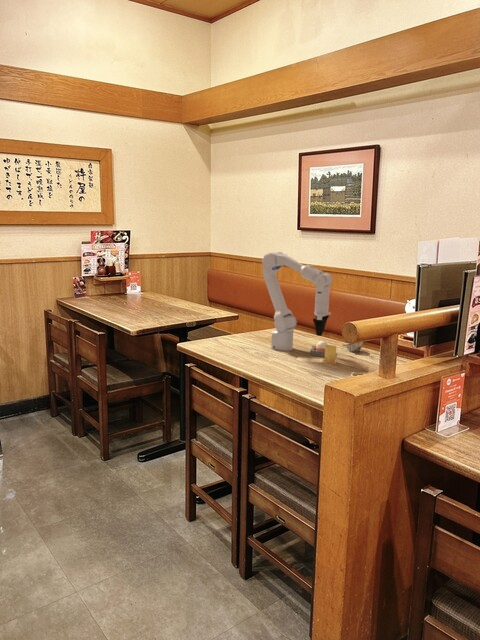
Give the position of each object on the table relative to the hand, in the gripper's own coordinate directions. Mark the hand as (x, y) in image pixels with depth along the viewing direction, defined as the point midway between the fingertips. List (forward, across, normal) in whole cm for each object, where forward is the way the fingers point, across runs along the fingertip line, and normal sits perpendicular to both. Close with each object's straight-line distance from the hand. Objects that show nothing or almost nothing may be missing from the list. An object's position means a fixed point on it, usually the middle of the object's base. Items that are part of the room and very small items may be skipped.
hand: (320, 333), depth 213 cm
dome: (+9, +2, -1) cm, 9 cm away
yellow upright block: (+9, -9, -5) cm, 14 cm away
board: (+10, -3, 0) cm, 11 cm away
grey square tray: (+10, +2, -1) cm, 10 cm away
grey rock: (+11, +13, -14) cm, 22 cm away
